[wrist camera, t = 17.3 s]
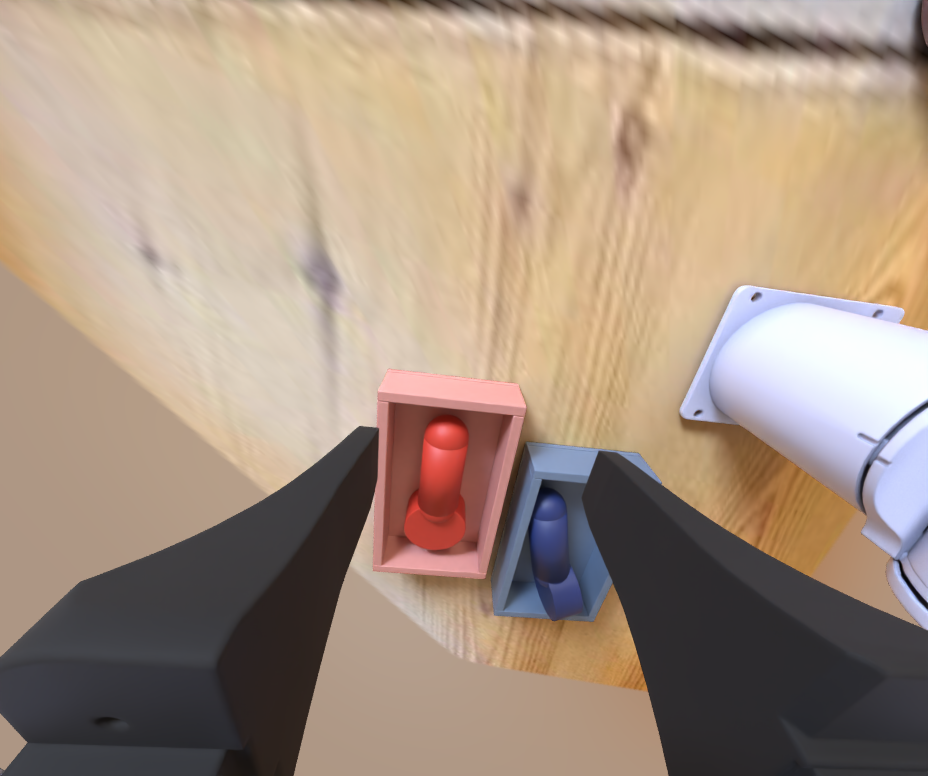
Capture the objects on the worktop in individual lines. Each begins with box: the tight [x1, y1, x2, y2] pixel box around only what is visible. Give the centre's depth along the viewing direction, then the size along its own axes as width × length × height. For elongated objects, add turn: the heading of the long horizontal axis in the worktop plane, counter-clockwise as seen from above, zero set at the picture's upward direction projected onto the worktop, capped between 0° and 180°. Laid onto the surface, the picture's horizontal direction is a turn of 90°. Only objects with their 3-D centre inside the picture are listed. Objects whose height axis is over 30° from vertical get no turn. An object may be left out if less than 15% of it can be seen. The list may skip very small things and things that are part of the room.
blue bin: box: [491, 442, 662, 622], centre depth 24 cm, size 14×8×3 cm, turn 172°
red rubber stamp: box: [404, 414, 469, 550], centre depth 22 cm, size 10×4×3 cm, turn 172°
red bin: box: [373, 369, 527, 579], centre depth 22 cm, size 14×8×3 cm, turn 172°
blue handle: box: [528, 487, 583, 621], centre depth 24 cm, size 10×4×3 cm
